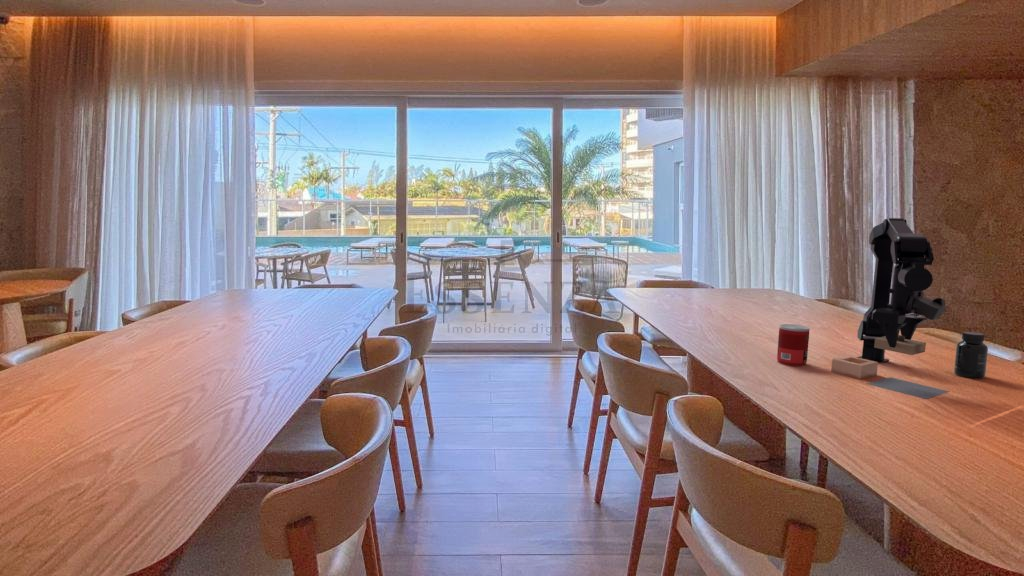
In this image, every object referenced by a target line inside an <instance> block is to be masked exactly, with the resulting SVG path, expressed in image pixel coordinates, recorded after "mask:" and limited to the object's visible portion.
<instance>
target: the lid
mask: <svg viewBox="0 0 1024 576" xmlns="http://www.w3.org/2000/svg"><path fill="white" fill-rule="evenodd" d="M926 346H927V342H924V341H918V340H913V339H911V340H909V339H905V336H902V335H901V334H899V335H898V339H897V343H896V346H895V348H892V347H890V346H889V344H888V341H887V339H886V337H885V336H884V337H879V338H875V344H874V347H875V348H880V349H884V350H885V351H889V352H895V353H900V354H903V355H904V354H905V355H908V356H914V355H919V354H923V353H925V352H926Z"/></svg>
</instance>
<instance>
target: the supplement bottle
mask: <svg viewBox="0 0 1024 576" xmlns="http://www.w3.org/2000/svg"><path fill="white" fill-rule="evenodd" d="M985 335H986V334H984V333H981V332H974V331H962V334H961V341H959V342H957V344H956V347H955V358H954V359H955V360H954V368H953V369H954V370H953V373H954V375H956V374H957V375H956V376H958V375H959V376H958V377H962V376H963V378H966V377H969V378H968V379H975V378H981V379H984V378H985V377H986V372H987V364H988V363H987V361H988V353H989V352H988V351H989V347H988V345H986V344H985V343H984V342H985V337H986V336H985Z"/></svg>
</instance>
